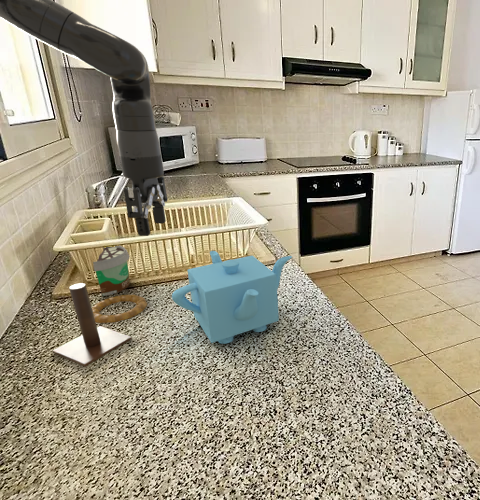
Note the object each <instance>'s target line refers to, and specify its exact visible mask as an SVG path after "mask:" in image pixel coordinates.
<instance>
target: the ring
mask: <svg viewBox="0 0 480 500" xmlns="http://www.w3.org/2000/svg"><path fill="white" fill-rule="evenodd" d="M121 302H123V303H124V302H130V303H135V306H134V307H133V308H131V309H128V310H127V311H124V312H120V313H117V314H106V315H105V314H101V311H102V310H103V309H104V308H107V307H108V306H110V305H112V304H116V303H121ZM147 306H148V302H147V301H146V299H145V297H143V296H140V295H137V294H120V295H119V294H118V295H116V296H111V297H107V298H105V299H103V300H101V301H99V302H97V303H95V304H94V305H93V306H91V307H92V310H93V314H94V318H95V322H96V324H111V323H117V322H121V321H126V320H128V319H129V320H130V319H131V318H133V317H135V316H137V315H139V314H141V313H143V312H144V310H145V309H146V308H147Z"/></svg>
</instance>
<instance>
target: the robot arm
mask: <svg viewBox="0 0 480 500" xmlns="http://www.w3.org/2000/svg"><path fill="white" fill-rule="evenodd" d="M0 19H1V20H4V21H5V22H7V23H8V24H10V25H11V26H13V27H15V28H16V29H18V30H19V31H21V32H23V33H25V34H27V35H28V36H30V37H32V38H34V39H36V40H38V41H40V42H42V43H44V44H46V45H47V46H49V47H52V48H53V49H55V50H57V51H59V52H62V53H63V54H65V55H68V56H70V57H72V58H75V59H78V60H79V61H81V62H83V63H85V64H86V65H88V66H89V67H92V68H93V69H95V70H96V71H98V72H100V73H102V74H103V75H106V76H107V77H110V82H111V87H112V93H113V100H112V115H113V120H114V125H115V131H116V144H117V148H118V149H117V150H118V155H119V160H120V161H119V162H120V166H121V172H122V176H123V177H124V178H125V179H129V180H131V187H124V189H123V194H124V201H125V206H126V213H127V217H128V219H135V224H136V230H137V235H138V236H140V237H148V236H150V235H151V233H152V232H151V227H150V221H149V210H150V209H152V214H153V221H154V223H155V224H165V223H166V213H165V207H166V203H167V202H168V194H167V188H166V182H165V177H164V174H165V172H164V163H163V158H162V151H161V150H162V149H161V144H160V139H159V136H158V131H157V125H156V119H155V113H154V108H153V104H152V94H151V93H152V92H151V91H152V90H151V79H150V71H149V70H150V69H149V64H148V61H147V59H146V57H145V55H144V54H143V52H141V51H140V49H138V48H137V47H136V46H135V45H134V44H132V43H130V42H128V41H127V40H126V39H124V38H121V37H119V36H117V35H115V34H114V33H111V32H109V31H107V30H106V29H103V28H101V27H99V26H97V25H95V24H92V23H91V22H89V21H88V20H87V19H85V18H84V17H82V16H81V15H79V14H77V13H76V12H74V11H72V10H71V9H69V8H67V7H65V6H63V5H61V4H60V3H58V2H56V1H55V0H0Z"/></svg>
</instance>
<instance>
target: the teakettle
mask: <svg viewBox="0 0 480 500" xmlns="http://www.w3.org/2000/svg"><path fill="white" fill-rule="evenodd" d="M209 255H210V259H211V262H212V263H210V264H206V265H202V266H196V267H192V268H188V269H187V270H186V271H187V276H188V277H187V278H188V284H186V285H183V286H181V287H179V288H177V289H175V290H174V291H173V292H172V294H171V300H172V301H173V302H174V304H176V305H177V306H179V307H181V308H183V309H185V310H188V311H190V312H193V316H194V318H195V320H197V322H198V324H199V326H200V327H201V329H202V331H203V332H204V333H205V335H206V337H207V338H208V340H209V341H210V343H211V344H213V343H216V342H218V343H219V344H223V345H226V344H230V343H232V342H233V341H234V337H235V336H237V335H240V334H244V333H246V332H249V331H253V332H255V333H261V332H265V331H266V330H267V329H268V325H271V324H273V323H276V322H279V320H280V318H279V316H280V315H279V300H278V299H279V298H278V296H279V295H278V290H279V286H280V282H281V278H282V277H281V276H282V272H283V269H284V266H285V264H286V263H287V262H289V261H290V260H291V259H292V258H293V256H292V255H286V256H282V257H280V258H278V259H277V261H275V263H274V264H273V267H272V269H270V268H269V267H268V266H267V265H265V264H264V263H263V262H261V261H260V260H259V259H258V258H257V257H255V256H254V255H247V256H243V257H238V258H234V259H227V260H224V261H223V260H222V258H221V255H220V254H219V253H218V251H216V250H210V251H209ZM188 293H190V297H191V301H190V300H189V298H187V297H186V295H187V294H188Z"/></svg>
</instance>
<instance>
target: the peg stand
mask: <svg viewBox="0 0 480 500" xmlns="http://www.w3.org/2000/svg"><path fill="white" fill-rule="evenodd" d="M68 289H69V292H70V296H71V300H72V303H73V307H74V310H75V313H76V318H77V321H78V326H79V328H80V332H81V335H80V336H78V337H76V338H74V339H71V340H70V341H68V342H66V343H64V344H62V345H60V346H58V347H56V348H54V349H53V350H52V351H51V352H52V354H54V355H57V356H59V357H61V358H64V359H66V360H68V361H70V362H73V363H74V364H75V363H76V364H78V365H80V366H83V367H85V368H86V367H88V366H90V365H91V364H93V363H95V362H96V361H98V360H100V359H101V358H103V357H105V356H106V355H108V354H109V353H112V352H113V351H115V350H117V349H118V348H120V347H122V346H123V345H125V344H127V343H129V342H130V341H132V340H133V338H132V336H130V335H127V334H124V333H122V332H118V331H117V330H113V329H111V328H109V327H104V326H103V325H99V326H97V322H95V318H94V314H93V310H92V307H93V306H92V303H91V299H90V295H89V292H88V287H87V284H86V283H83V282H79V283H75V284H72V285H70V286H69V287H68Z"/></svg>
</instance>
